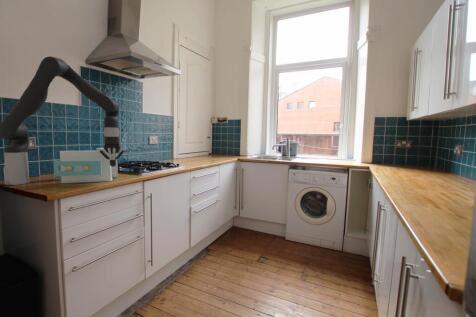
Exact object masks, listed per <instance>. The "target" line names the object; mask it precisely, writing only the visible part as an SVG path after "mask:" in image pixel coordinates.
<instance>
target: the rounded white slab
mask: <svg viewBox="0 0 476 317" xmlns="http://www.w3.org/2000/svg"><path fill="white" fill-rule="evenodd" d="M102 149H104V147H96V149H95V151H100V150H102ZM117 156H118V153H116V157H117ZM112 157H113V154H112ZM118 167H119V166H118V159H116V165H115V167H111V176H112V179H115V178H116V177H117V178H118V177H119V175H118V174H119V172H118V170H119V169H118Z"/></svg>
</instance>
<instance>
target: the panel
mask: <svg viewBox="0 0 476 317" xmlns="http://www.w3.org/2000/svg"><path fill="white" fill-rule="evenodd" d="M75 165H81V167H84V166H88V167H89V170H87V171H85V170H84V169H82V171H76V169H75ZM58 166H64V167H68V166H70V167H72V170H71V171H67V170H64V171H58ZM53 172H54V177H56V176H81V175H102V171H101V160H94V161H54V160H53Z"/></svg>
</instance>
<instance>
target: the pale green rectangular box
mask: <svg viewBox="0 0 476 317" xmlns="http://www.w3.org/2000/svg"><path fill="white" fill-rule="evenodd" d="M105 153H106V154H107V155H108V157H109V154H108V153H107V152H106V151H105ZM59 159H60V161H94V160H101V171H102V175H81V176H61V180H60V184H74V183H75V184H76V183H96V182H97V183H99V182H101V183H102V182H112V181H113V178H112V176H111V166H110V160H109V159H106V158H105V157H104V156H103V155H102V154H101V153H100V151H96V150H60V151H59ZM75 169H76V171H82V169H84V170H85V171H87V170H89V167H88V166H84V167H81V165H75ZM64 170H67V171H71V170H72V167H70V166H68V167H64V166H61V171H64Z"/></svg>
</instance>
